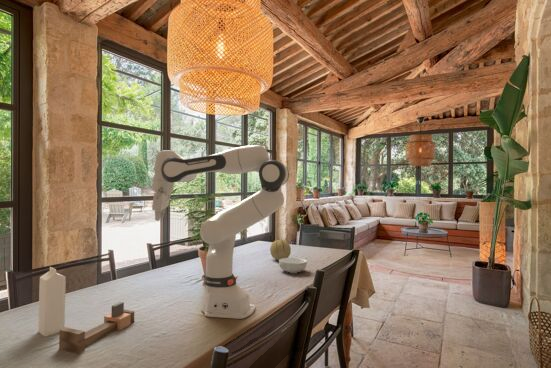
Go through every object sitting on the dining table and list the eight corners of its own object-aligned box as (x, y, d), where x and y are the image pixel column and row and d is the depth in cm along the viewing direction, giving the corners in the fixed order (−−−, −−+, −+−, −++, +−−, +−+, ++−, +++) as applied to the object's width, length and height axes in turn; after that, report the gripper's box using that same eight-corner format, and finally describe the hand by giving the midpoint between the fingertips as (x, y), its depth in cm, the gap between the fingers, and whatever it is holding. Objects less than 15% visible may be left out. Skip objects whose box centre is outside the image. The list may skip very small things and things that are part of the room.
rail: (136, 322, 119) (136, 306, 119) (78, 354, 96) (79, 334, 96) (119, 319, 122) (119, 303, 122) (59, 349, 99) (59, 329, 99)
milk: (57, 326, 115) (59, 264, 115) (64, 330, 111) (66, 267, 112) (37, 332, 110) (39, 268, 110) (44, 337, 106) (46, 270, 107)
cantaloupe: (283, 263, 214) (284, 241, 214) (265, 260, 222) (266, 239, 222) (294, 259, 226) (295, 238, 226) (277, 256, 234) (277, 236, 234)
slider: (130, 324, 117) (130, 303, 117) (119, 329, 112) (120, 307, 112) (114, 321, 119) (115, 300, 119) (103, 326, 114) (104, 305, 114)
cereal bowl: (311, 271, 197) (311, 259, 197) (298, 277, 183) (298, 264, 183) (287, 266, 206) (287, 255, 206) (273, 272, 192) (273, 260, 192)
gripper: (166, 189, 128) (162, 223, 129) (173, 187, 149) (170, 216, 149) (150, 187, 127) (146, 221, 127) (159, 185, 147) (156, 215, 148)
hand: (159, 218), depth 138 cm, fingers open, 8 cm apart
